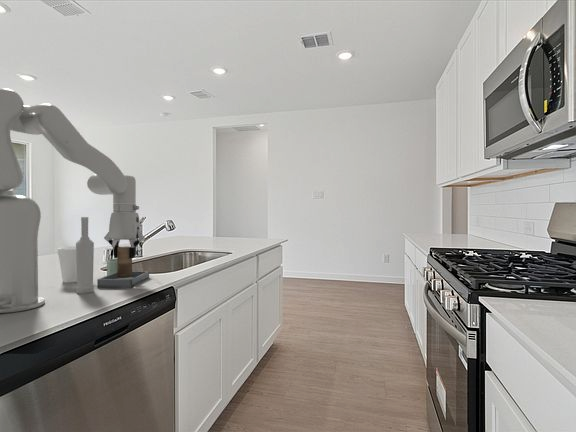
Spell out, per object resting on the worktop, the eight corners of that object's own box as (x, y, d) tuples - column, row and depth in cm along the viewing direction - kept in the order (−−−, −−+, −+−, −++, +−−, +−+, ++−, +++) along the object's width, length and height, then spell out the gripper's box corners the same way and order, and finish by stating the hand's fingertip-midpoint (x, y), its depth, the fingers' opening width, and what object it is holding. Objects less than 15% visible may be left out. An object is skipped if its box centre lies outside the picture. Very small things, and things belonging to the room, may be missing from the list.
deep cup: (123, 277, 135) (123, 261, 135) (102, 277, 135) (102, 261, 135) (132, 273, 143) (132, 258, 143) (113, 273, 143) (113, 258, 143)
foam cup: (93, 279, 131) (92, 246, 131) (75, 285, 122) (75, 249, 122) (70, 278, 132) (70, 245, 132) (51, 284, 123) (51, 248, 123)
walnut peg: (134, 276, 126) (134, 247, 126) (120, 278, 122) (119, 248, 122) (129, 274, 130) (129, 246, 129) (115, 276, 126) (115, 247, 126)
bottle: (72, 292, 112) (71, 217, 111) (86, 289, 116) (86, 216, 116) (83, 294, 110) (83, 217, 109) (97, 290, 115) (97, 217, 114)
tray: (131, 288, 119) (131, 279, 118) (97, 287, 119) (97, 279, 118) (149, 279, 134) (149, 271, 133) (118, 278, 134) (118, 271, 133)
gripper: (151, 209, 129) (151, 256, 129) (107, 208, 129) (107, 256, 129) (143, 209, 121) (143, 259, 122) (95, 208, 121) (96, 259, 122)
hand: (124, 257), depth 126 cm, fingers closed on walnut peg, 5 cm apart
